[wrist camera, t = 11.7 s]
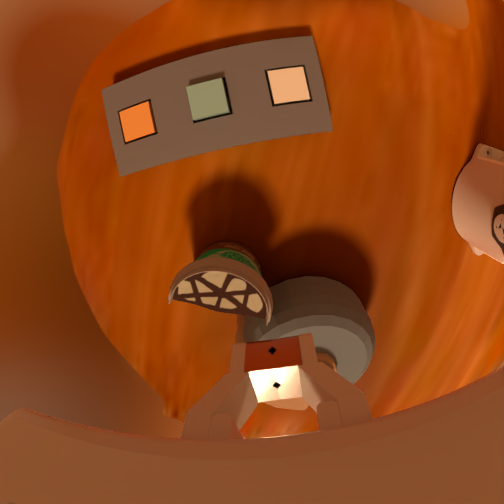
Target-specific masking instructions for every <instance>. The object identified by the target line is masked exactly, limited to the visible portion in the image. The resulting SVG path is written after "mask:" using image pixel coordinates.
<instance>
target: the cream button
mask: <svg viewBox="0 0 504 504" xmlns="http://www.w3.org/2000/svg"><path fill="white" fill-rule="evenodd" d="M267 76H268V81H269V85H270V90H271V95H272V99H273V104H274V105H280V104H287V103H294V102H302V101H308V100H309V99H310V97H309V92H308V87H307V83H306V78H305V74H304V69H303V67H295V68H286V69H279V70H272V71H267Z"/></svg>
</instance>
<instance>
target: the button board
mask: <svg viewBox="0 0 504 504" xmlns="http://www.w3.org/2000/svg"><path fill="white" fill-rule="evenodd" d="M295 67H303V69H304V74H305V78H306V83H307V87H308V92H309V97H310V99H309V100H308V101H302V102H294V103H287V104H280V105H274V104H273V99H272V95H271V90H270V85H269V81H268V76H267V71H272V70H279V69H286V68H295ZM219 78H222V79H223V81H224V84H225V89H226V94H227V98H228V103H229V108H230V112H231V113H227V114H222V115H218V116H213V117H209V118H205V119H201V120H197V121H196V120H193V118H192V114H191V109H190V104H189V100H188V95H187V90H186V87H188V86H191V85H195V84H199V83H203V82H207V81H211V80H215V79H219ZM102 95H103V100H104V106H105V112H106V117H107V122H108V127H109V132H110V136H111V141H112V145H113V150H114V154H115V158H116V162H117V166H118V170H119V174H120V177H121V176H125V175H128V174H131V173H134V172H137V171H140V170H144V169H147V168H150V167H154V166H157V165H160V164H164V163H168V162H171V161H175V160H179V159H182V158H186V157H190V156H194V155H198V154H202V153H207V152H211V151H215V150H220V149H224V148H229V147H234V146H238V145H243V144H249V143H254V142H259V141H265V140H271V139H277V138H283V137H289V136H296V135H303V134H311V133H319V132H328V131H333V127H332V122H331V116H330V111H329V105H328V100H327V95H326V91H325V86H324V81H323V77H322V72H321V68H320V64H319V60H318V56H317V52H316V48H315V44H314V40H313V37H312V36H302V37H291V38H281V39H273V40H266V41H259V42H253V43H247V44H242V45H237V46H232V47H227V48H222V49H218V50H214V51H210V52H206V53H202V54H198V55H194V56H191V57H187V58H184V59H181V60H177V61H174V62H171V63H168V64H165V65H162V66H159V67H156V68H153V69H151V70H148V71H145V72H143V73H140V74H138V75H135V76H132V77H130V78H128V79H125V80H123V81H120V82H118V83H116V84H114V85H111V86H109V87H107V88H105V89H103V90H102ZM147 101H149V102H151V104H152V108H153V113H154V118H155V123H156V127H157V132H158V133H155V134H152V135H149V136H146V137H143V138H140V139H137V140H134V141H131V142H125V137H124V133H123V128H122V123H121V118H120V113H119V112H121V111H124V110H126V109H129V108H131V107H134V106H136V105H139V104H142V103H145V102H147Z"/></svg>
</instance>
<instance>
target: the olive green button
mask: <svg viewBox="0 0 504 504" xmlns="http://www.w3.org/2000/svg"><path fill="white" fill-rule="evenodd" d="M186 90H187V95H188V100H189V104H190V109H191V114H192V118H193V120H196V121H197V120H201V119H205V118H209V117H213V116H218V115H222V114H227V113H231V112H230V108H229V103H228V98H227V94H226V89H225V84H224V81H223V79H222V78H219V79H215V80H211V81H207V82H203V83H199V84H195V85H191V86H188V87H186Z"/></svg>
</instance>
